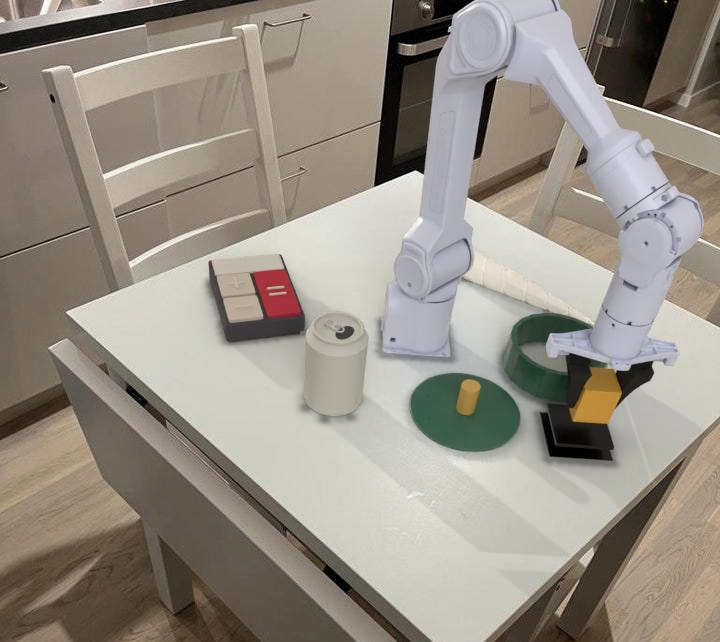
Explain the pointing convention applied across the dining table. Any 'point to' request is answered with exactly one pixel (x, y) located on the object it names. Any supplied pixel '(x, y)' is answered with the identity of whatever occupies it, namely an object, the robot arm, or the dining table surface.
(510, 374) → the tin
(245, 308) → the calculator
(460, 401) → the tin lid
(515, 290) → the unicorn horn
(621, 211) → the robot arm
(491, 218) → the dining table surface
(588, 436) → the stand
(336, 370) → the can
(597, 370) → the block
